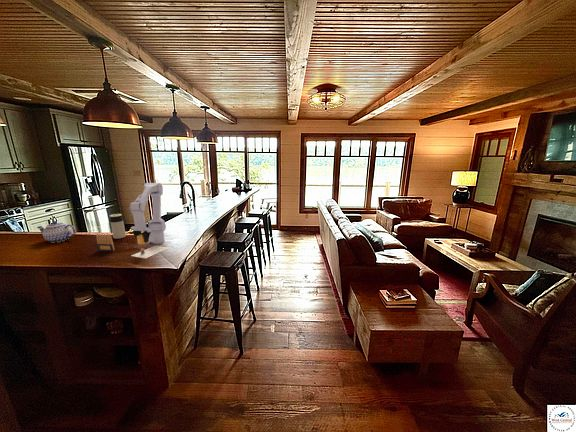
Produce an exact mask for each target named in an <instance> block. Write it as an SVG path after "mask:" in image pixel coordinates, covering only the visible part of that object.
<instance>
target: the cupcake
mask: <svg viewBox="0 0 576 432" xmlns="http://www.w3.org/2000/svg"><path fill="white" fill-rule="evenodd" d="M136 241H138V242H137V244H138V245H146V244H148V243H149V241H148V242H147V243H145V242H144V238H143V236H142V234H140V235H137V240H136Z"/></svg>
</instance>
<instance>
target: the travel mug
mask: <svg viewBox="0 0 576 432" xmlns="http://www.w3.org/2000/svg"><path fill="white" fill-rule="evenodd" d="M109 217H110V219H109V221H110V228H111V233H112V237H113V238H112V239H117V240H118V239H119V240H120V239H123V238H125V237H127V236H126V230H125V229H126V228H125V224H124V223H125V222H124V218H123V217H122V213H113V214H110V215H109Z"/></svg>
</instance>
